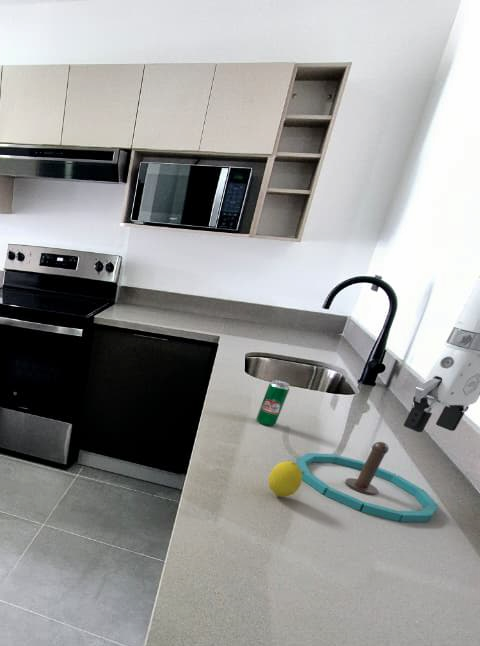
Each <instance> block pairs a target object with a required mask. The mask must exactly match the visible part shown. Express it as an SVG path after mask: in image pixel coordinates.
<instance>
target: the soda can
mask: <svg viewBox="0 0 480 646" xmlns="http://www.w3.org/2000/svg"><path fill="white" fill-rule="evenodd" d="M289 392H290V383H288V382H286V381H283V380H279V379H272V380H271V382H269V383H268V386H267V388H266V392H265V394H264V396H263V399H262V402H261V405H260V407H259V410H258V413H257V415H256V418H255V419H256V422H258V424H261V425H263V426H267V427H273V426H276V424H277V422H278V419H279V417H280V414H281V412H282V409H283V407H284V405H285V404H284V403H285V402H286V399H287V397H288V394H289Z"/></svg>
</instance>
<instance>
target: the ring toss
mask: <svg viewBox="0 0 480 646" xmlns="http://www.w3.org/2000/svg"><path fill="white" fill-rule="evenodd" d="M389 449H390V448H389V445H388V444H387V443H385V442H383V441H376V442H375V443H373V444H372V446H371V450H370V453H369V454H368V456H367V459H366V460H365V462H366V463H365V462H364V463H365V465H364V467H363V469H362V470H360V472H359V474H358V477H357V478H353V477H349V478H346V479H345V482H344V484H345V485H346V486H347V487H348V488H350V489H352V490H353V491H355V492H358V493H361V494H365V495H369V496H375V495H377V493H378V492H379V491H378V488H377V487H376V486H375V485H374V484H371V483H372V481H373V479H374V478H375V473H376V471H377V469H378V467H379V468H380V466H381V463H382V461H383V459H384V457H385V456H386V454H387V453H388V452H389Z"/></svg>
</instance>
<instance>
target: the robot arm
mask: <svg viewBox="0 0 480 646" xmlns="http://www.w3.org/2000/svg"><path fill="white" fill-rule="evenodd" d="M444 345H445V347H444V349H443V350H442V351H441V353H440V354H439V356H438V357H437V359H436V360H435V362H434V363H433V365H432V367H431V369H430V370H429V372H428V374H427V376H426V377H425V380H424V381H423V383H422V384H420V385H418V386H417V387H416V388H415V393H414V396H413V397H412V398H413V399H412V401H413V403H412V404H411V409H410V411H409V412H408V415H407V417H406V419H405V421H404V423H403V427H405V428H407V429H410V430H411V431H414V432H417V433H423V432H424V430H425V428H426V426H427V425H428V422H429V421H430V418H431V416H432V415H433V413H432V412H431V411H432V410H433V409H435V408H436V407H437V406H438V405H439V404H440V403H441V404H442V405H444V407H443V409H442V411H441V412H440V415H439V417H438V419H437V421H436V423H435V424H436V426H437V427H440V428H443V429H445V430H448V431H451V432H454V431H455V430H456V429H457V428H458V426H459V425H460V422H461V420H462V419H463V416H464V415H465V414H466V413H465V412H467V411H468V410H469V409H470V406H471V405H473V404H475V403H477V401H478V400H479V398H480V275H479V277H478V278H477V279H476V282H475V284H474V286H473V287H472V290H471V291H470V294H469V296H468V298H467V299H466V302H465V304H464V305H463V307H462V310H461V311H460V314H459V316H458V317H457V319H456V322H455V323H454V325H453V327H452V330H451V331H450V333H449V336H448V337H447V339H446V341H445V343H444Z"/></svg>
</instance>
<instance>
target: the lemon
mask: <svg viewBox="0 0 480 646" xmlns="http://www.w3.org/2000/svg"><path fill="white" fill-rule="evenodd" d="M295 463H296V461H295V462H294V461H293V460H290V461H282V462H279V463H277V464H276V465H275V466H274V467H273V468H272V470H271V471H270V473H269V476H268V486H269V489H270V491H272V492H273V493H274V495H275V496H276V497H278V498H282V497H289V496H292V495H293V494H295V493H297V491H298V490H299V489H300V487H301V485H302V482H303V480H302V471H301V469H300V468H299V466H298V465H296V464H295Z"/></svg>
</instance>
